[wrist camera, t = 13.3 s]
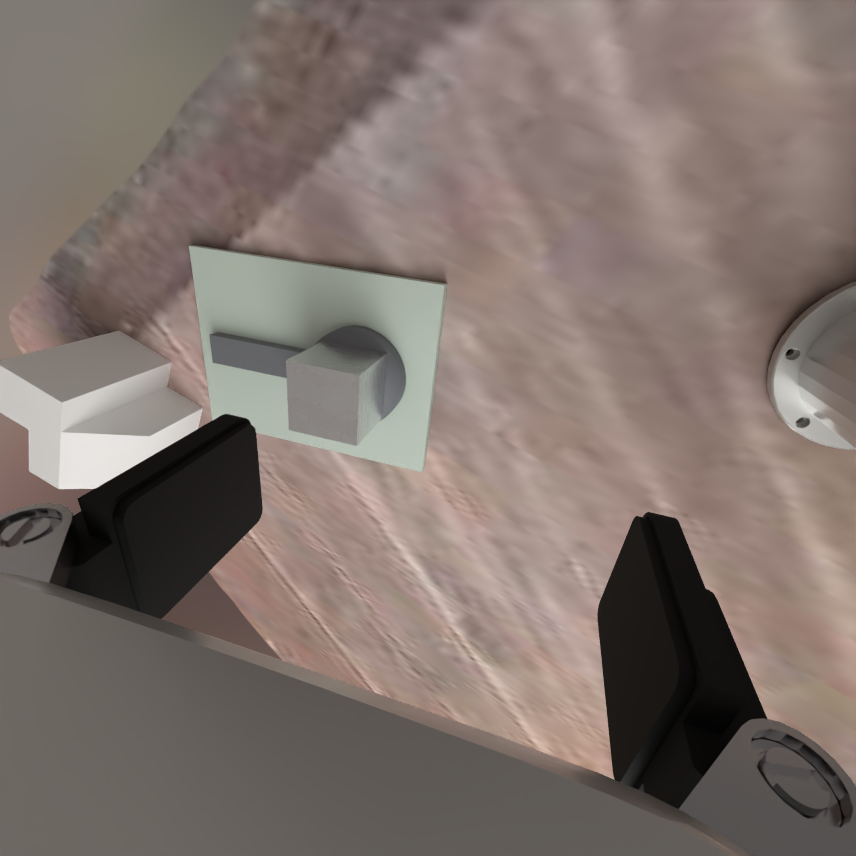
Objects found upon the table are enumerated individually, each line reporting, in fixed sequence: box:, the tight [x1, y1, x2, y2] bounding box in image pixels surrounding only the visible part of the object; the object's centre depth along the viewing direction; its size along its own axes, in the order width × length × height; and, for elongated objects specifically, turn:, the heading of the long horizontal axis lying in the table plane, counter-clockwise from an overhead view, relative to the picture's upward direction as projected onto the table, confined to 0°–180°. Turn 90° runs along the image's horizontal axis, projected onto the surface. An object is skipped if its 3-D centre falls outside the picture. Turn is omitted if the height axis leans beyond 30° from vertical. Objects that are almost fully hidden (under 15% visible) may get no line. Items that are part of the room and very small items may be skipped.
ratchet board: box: [189, 245, 447, 472], centre depth 39 cm, size 24×18×6 cm
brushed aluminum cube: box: [286, 341, 387, 446], centre depth 36 cm, size 6×6×6 cm
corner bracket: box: [0, 331, 203, 489], centre depth 44 cm, size 11×11×12 cm
